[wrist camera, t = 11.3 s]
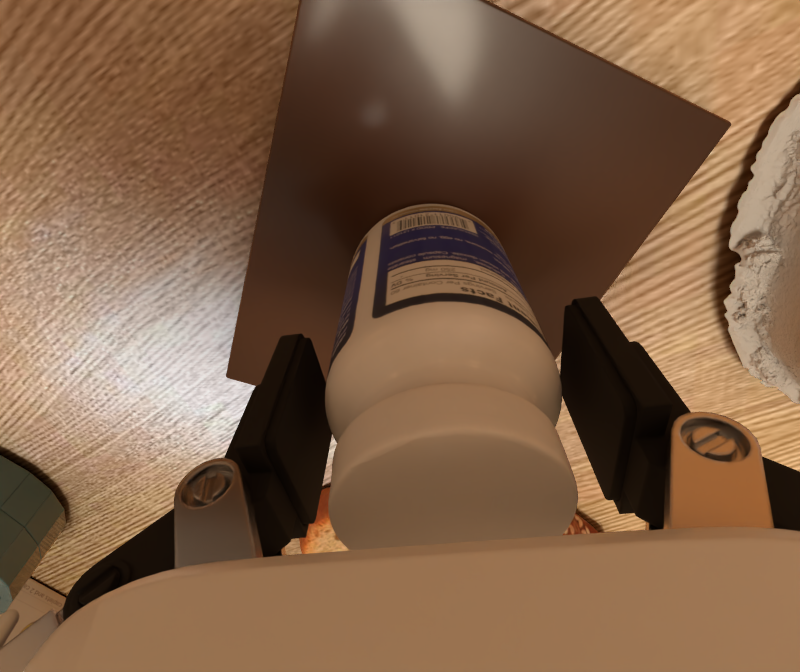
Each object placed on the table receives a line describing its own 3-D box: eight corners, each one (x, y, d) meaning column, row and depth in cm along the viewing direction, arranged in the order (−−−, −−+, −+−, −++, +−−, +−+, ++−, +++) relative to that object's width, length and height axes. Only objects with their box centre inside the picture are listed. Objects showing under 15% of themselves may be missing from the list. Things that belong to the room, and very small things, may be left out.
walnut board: (323, -76, 12) (315, -86, 11) (711, 117, 14) (733, 123, 13) (234, 361, 20) (225, 377, 19) (484, 433, 23) (487, 451, 22)
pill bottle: (426, 360, 19) (440, 618, 10) (320, 275, 16) (232, 519, 8) (538, 274, 16) (670, 522, 8) (432, 160, 14) (467, 345, 6)
